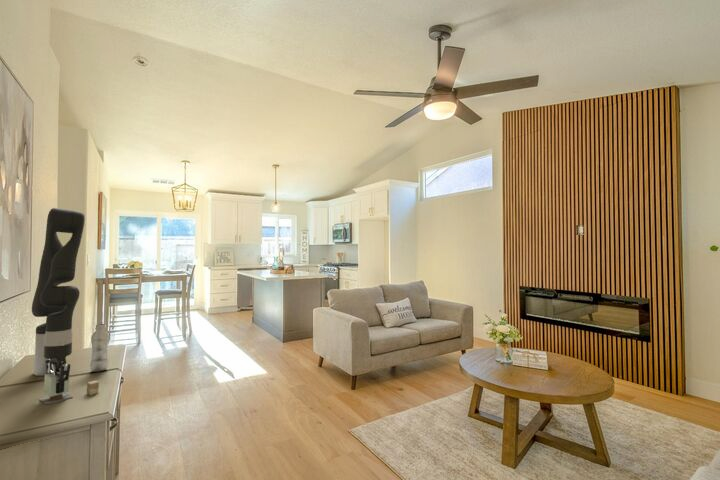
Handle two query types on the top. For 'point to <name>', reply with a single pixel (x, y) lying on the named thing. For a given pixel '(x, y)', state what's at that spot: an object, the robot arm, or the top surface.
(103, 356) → the plastic bottle
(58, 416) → the top surface
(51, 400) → the walnut post
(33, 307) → the robot arm
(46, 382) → the pale green eraser block
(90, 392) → the maple post
